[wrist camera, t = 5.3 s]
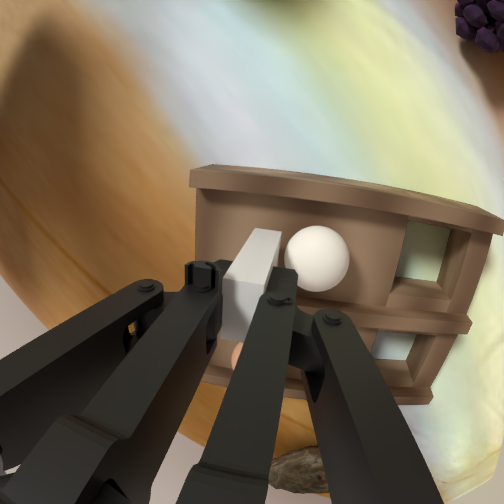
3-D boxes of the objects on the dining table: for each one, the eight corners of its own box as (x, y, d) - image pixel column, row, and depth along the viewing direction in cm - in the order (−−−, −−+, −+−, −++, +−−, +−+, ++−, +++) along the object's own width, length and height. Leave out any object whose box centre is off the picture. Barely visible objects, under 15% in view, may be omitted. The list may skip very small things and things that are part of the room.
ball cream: (272, 294, 16) (338, 310, 15) (280, 229, 14) (354, 245, 13) (289, 268, 19) (344, 280, 18) (297, 213, 17) (356, 225, 16)
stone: (248, 467, 30) (260, 499, 23) (278, 419, 32) (298, 443, 25) (327, 488, 31) (350, 515, 23) (355, 445, 33) (385, 466, 25)
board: (208, 348, 26) (193, 379, 22) (212, 164, 20) (189, 170, 16) (418, 372, 23) (428, 404, 19) (476, 206, 17) (506, 221, 13)
